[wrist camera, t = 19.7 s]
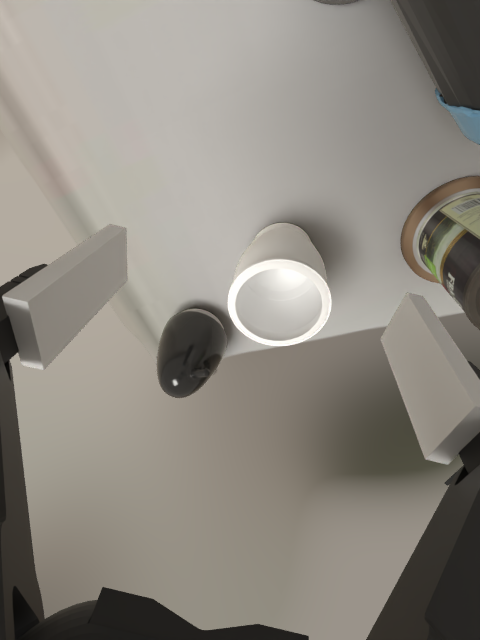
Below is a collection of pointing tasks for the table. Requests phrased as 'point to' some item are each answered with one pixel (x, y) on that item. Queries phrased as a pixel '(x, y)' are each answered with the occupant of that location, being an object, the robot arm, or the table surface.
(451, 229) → the coffee can
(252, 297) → the jar
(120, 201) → the table surface
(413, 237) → the thin brown ring
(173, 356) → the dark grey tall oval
